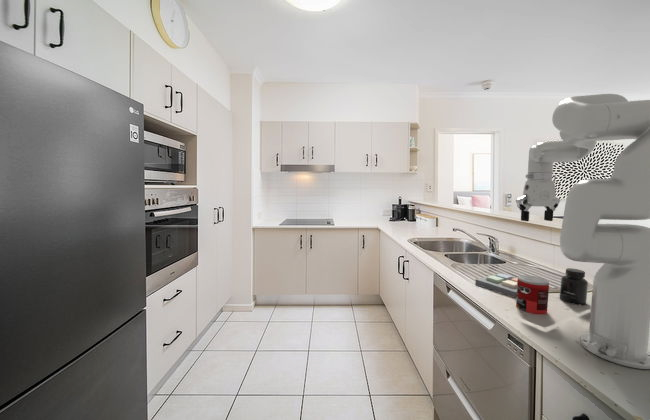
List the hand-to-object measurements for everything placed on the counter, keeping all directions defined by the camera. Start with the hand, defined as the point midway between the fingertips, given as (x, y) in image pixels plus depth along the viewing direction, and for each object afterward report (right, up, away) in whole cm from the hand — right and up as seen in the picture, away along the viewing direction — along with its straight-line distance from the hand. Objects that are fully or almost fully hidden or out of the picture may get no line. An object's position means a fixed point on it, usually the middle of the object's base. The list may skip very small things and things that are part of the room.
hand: (536, 220), depth 104 cm
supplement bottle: (+3, -29, -12) cm, 31 cm away
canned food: (-17, -29, -18) cm, 38 cm away
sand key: (-12, -26, -3) cm, 29 cm away
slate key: (-10, -25, +5) cm, 27 cm away
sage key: (-15, -25, +2) cm, 29 cm away
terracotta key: (-7, -25, 0) cm, 26 cm away
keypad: (-11, -28, +1) cm, 30 cm away
